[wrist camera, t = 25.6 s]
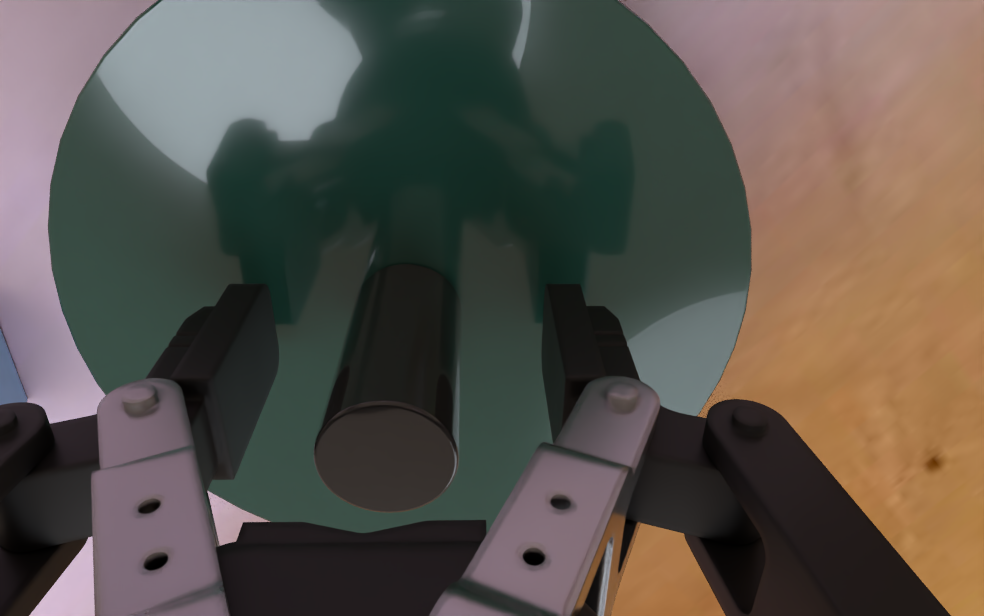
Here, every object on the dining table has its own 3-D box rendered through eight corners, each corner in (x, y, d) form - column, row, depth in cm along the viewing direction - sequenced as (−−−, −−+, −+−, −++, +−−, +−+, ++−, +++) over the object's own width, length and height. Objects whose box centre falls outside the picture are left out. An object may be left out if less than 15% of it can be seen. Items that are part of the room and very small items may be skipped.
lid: (-29, -87, 13) (-368, -76, 8) (804, -73, 14) (1020, -54, 8) (154, 523, 21) (46, 737, 15) (684, 518, 21) (755, 725, 16)
